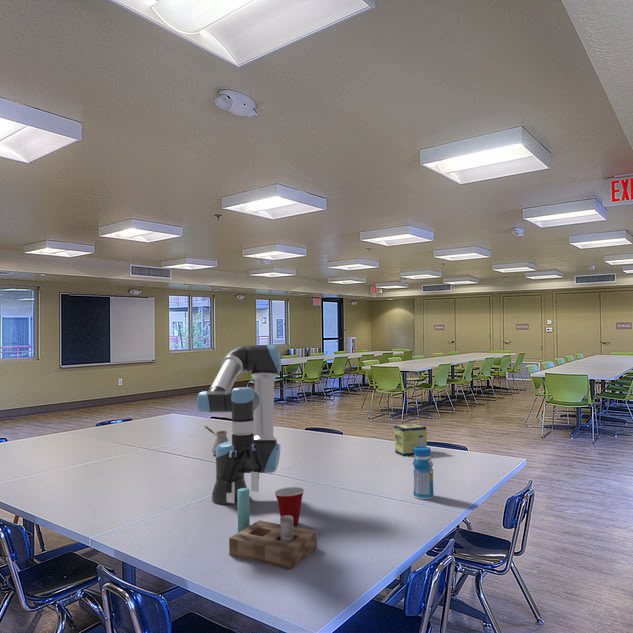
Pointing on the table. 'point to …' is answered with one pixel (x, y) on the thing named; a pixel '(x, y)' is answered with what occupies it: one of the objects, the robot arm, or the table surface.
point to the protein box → (409, 438)
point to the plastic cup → (290, 502)
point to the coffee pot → (218, 439)
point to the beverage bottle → (423, 473)
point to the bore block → (274, 543)
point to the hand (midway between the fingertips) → (243, 496)
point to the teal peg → (243, 509)
